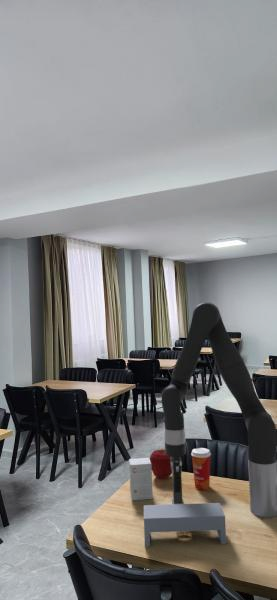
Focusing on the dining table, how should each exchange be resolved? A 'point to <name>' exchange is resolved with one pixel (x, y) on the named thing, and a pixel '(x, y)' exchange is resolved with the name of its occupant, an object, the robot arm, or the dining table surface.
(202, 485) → the paper cup
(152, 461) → the apple
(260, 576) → the dining table surface
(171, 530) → the shelf
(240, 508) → the dining table surface
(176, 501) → the grey l-shaped bracket
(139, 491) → the small box
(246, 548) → the dining table surface
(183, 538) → the token
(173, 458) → the robot arm
